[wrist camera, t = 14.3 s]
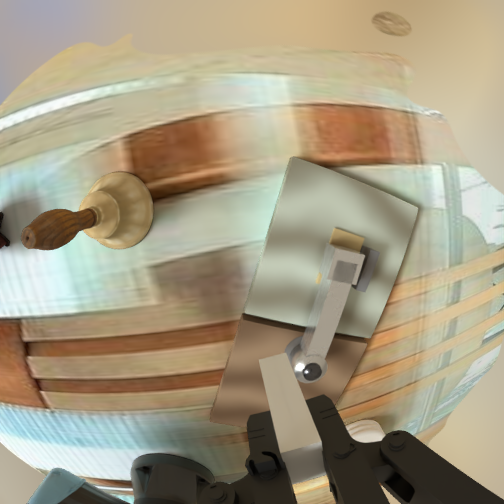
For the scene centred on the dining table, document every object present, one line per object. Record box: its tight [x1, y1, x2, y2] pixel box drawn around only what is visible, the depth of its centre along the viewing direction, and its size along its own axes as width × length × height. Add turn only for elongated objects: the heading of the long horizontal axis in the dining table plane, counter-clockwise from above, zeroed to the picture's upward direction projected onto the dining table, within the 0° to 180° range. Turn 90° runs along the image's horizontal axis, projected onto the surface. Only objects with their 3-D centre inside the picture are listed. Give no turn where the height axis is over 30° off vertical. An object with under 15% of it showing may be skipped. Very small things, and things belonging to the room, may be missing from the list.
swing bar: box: [289, 243, 365, 383], centre depth 28 cm, size 15×4×4 cm, turn 167°
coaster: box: [346, 420, 385, 443], centre depth 37 cm, size 10×10×4 cm
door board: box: [210, 157, 419, 428], centre depth 31 cm, size 34×16×4 cm, turn 164°
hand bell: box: [21, 172, 154, 250], centre depth 20 cm, size 8×8×16 cm
